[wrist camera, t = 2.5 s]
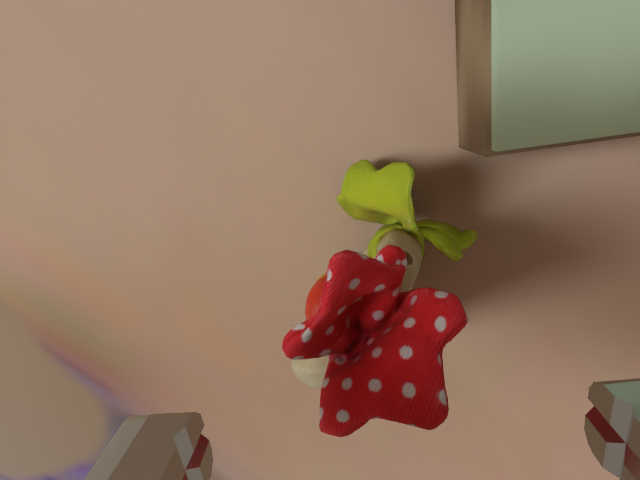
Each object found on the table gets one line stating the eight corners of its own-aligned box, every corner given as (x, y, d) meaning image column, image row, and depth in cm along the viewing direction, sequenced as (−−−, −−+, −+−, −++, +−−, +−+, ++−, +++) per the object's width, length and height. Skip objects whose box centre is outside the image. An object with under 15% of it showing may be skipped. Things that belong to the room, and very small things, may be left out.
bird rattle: (394, 295, 22) (512, 186, 16) (355, 518, 14) (569, 473, 7) (300, 243, 21) (385, 108, 15) (202, 444, 13) (297, 329, 7)
